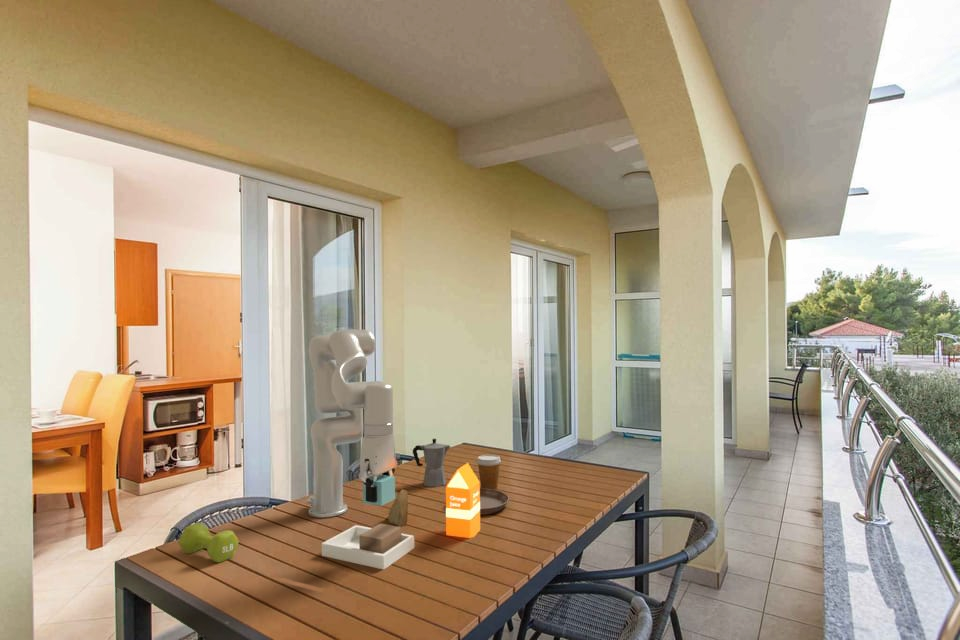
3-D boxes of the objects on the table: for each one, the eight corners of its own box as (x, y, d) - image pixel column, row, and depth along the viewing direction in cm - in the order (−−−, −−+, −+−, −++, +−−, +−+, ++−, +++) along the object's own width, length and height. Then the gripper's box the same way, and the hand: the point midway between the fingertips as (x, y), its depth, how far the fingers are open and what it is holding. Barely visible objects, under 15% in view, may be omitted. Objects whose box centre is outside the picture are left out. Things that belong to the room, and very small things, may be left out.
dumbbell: (241, 555, 133) (241, 528, 133) (213, 567, 126) (213, 539, 126) (204, 544, 140) (204, 518, 141) (175, 555, 134) (176, 528, 134)
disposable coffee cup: (476, 485, 195) (475, 454, 195) (499, 484, 195) (499, 454, 196) (478, 492, 185) (477, 460, 186) (503, 491, 186) (502, 459, 186)
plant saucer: (517, 513, 163) (517, 503, 163) (457, 520, 157) (457, 510, 157) (497, 495, 183) (497, 486, 183) (443, 500, 177) (443, 491, 177)
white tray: (321, 558, 130) (321, 543, 130) (355, 539, 143) (355, 525, 143) (383, 572, 121) (383, 556, 122) (414, 550, 134) (414, 535, 134)
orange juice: (480, 529, 149) (480, 463, 149) (470, 541, 140) (469, 470, 141) (456, 526, 151) (456, 461, 152) (445, 537, 143) (444, 468, 144)
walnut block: (359, 558, 128) (359, 535, 128) (380, 545, 136) (380, 523, 136) (381, 563, 125) (381, 539, 125) (401, 549, 133) (401, 527, 133)
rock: (414, 522, 149) (420, 507, 159) (396, 500, 149) (404, 486, 159) (387, 542, 150) (395, 525, 160) (369, 521, 150) (379, 505, 160)
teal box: (363, 502, 129) (363, 479, 130) (377, 496, 135) (377, 474, 135) (381, 505, 127) (381, 482, 127) (395, 499, 132) (395, 476, 133)
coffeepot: (449, 479, 204) (448, 435, 205) (452, 485, 195) (452, 440, 195) (411, 481, 200) (411, 437, 201) (413, 488, 191) (413, 442, 192)
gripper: (386, 424, 141) (387, 487, 140) (346, 434, 126) (346, 505, 125) (408, 425, 138) (409, 490, 137) (369, 436, 122) (370, 509, 121)
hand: (379, 497), depth 131 cm, fingers closed on teal box, 5 cm apart
